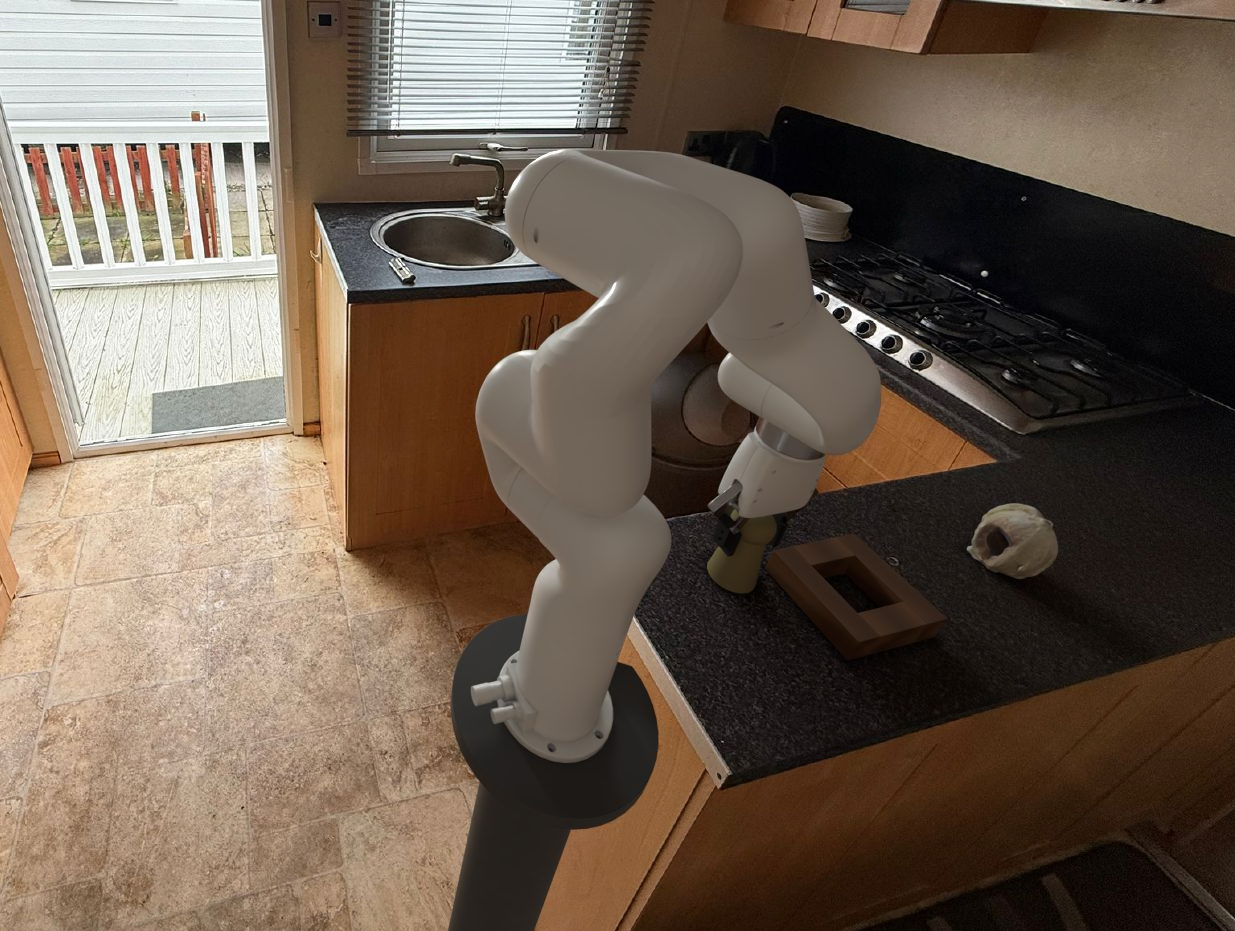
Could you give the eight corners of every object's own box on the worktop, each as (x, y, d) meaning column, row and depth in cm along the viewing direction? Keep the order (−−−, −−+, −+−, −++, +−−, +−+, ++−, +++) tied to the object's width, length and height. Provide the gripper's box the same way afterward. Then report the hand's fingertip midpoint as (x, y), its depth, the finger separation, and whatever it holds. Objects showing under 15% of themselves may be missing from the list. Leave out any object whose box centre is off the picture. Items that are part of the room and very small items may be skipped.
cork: (708, 585, 86) (734, 524, 80) (705, 550, 91) (729, 491, 85) (759, 599, 84) (788, 538, 79) (752, 563, 89) (779, 503, 84)
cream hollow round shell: (968, 549, 97) (990, 486, 95) (1045, 579, 91) (1070, 513, 89) (959, 565, 91) (983, 498, 89) (1042, 598, 85) (1069, 527, 83)
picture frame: (847, 661, 77) (859, 642, 76) (764, 568, 89) (773, 550, 87) (934, 637, 81) (948, 618, 79) (844, 551, 92) (854, 533, 90)
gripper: (827, 404, 81) (778, 511, 90) (708, 421, 77) (669, 532, 85) (879, 443, 75) (821, 554, 84) (754, 464, 70) (706, 579, 79)
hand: (745, 542), depth 84 cm, fingers open, 6 cm apart
